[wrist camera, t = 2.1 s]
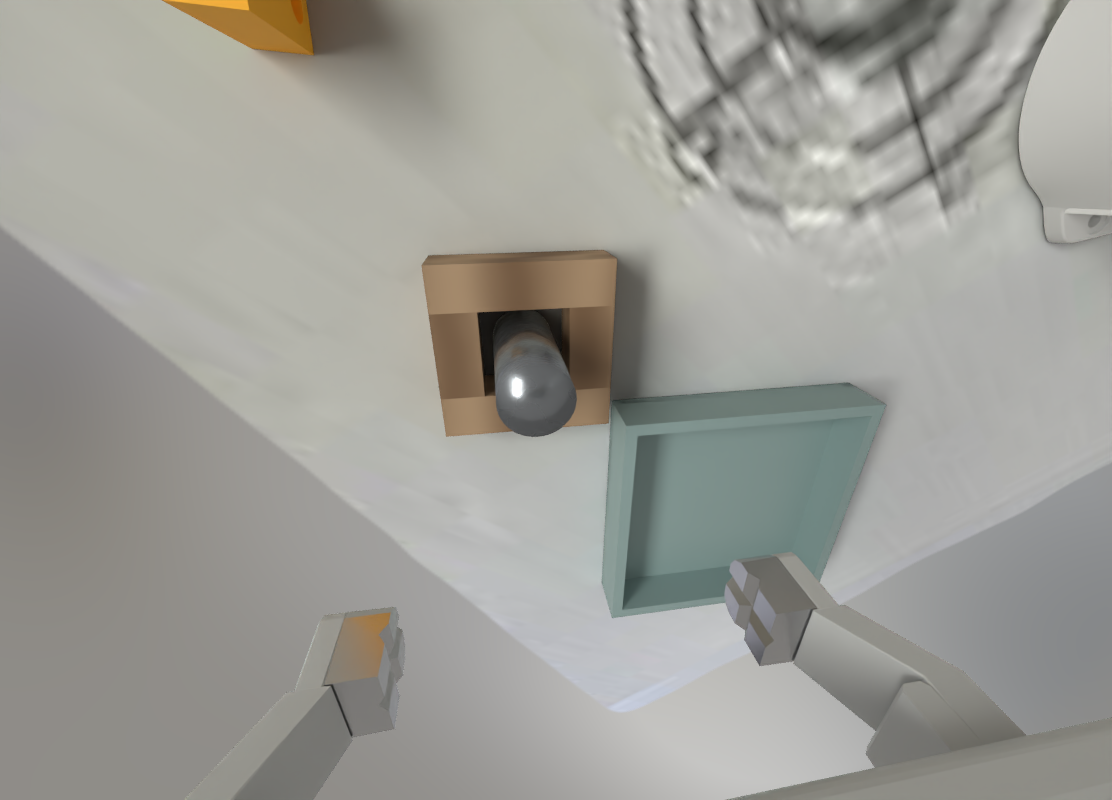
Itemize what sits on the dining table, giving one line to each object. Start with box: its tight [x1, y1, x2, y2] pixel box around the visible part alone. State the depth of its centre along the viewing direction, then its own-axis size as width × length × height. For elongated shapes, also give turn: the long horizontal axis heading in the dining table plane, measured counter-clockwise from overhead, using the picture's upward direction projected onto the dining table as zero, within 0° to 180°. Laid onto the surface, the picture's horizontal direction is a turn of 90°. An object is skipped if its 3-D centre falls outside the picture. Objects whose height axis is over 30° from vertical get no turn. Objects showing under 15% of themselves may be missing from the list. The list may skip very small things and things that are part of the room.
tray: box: [602, 383, 886, 618], centre depth 34 cm, size 18×18×4 cm
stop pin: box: [493, 310, 577, 437], centre depth 24 cm, size 4×4×9 cm
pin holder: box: [422, 250, 617, 437], centre depth 26 cm, size 10×10×3 cm
